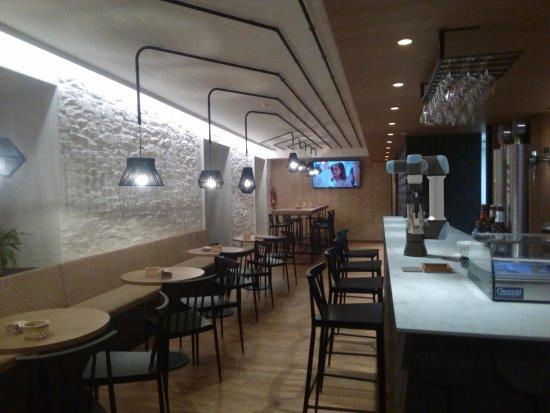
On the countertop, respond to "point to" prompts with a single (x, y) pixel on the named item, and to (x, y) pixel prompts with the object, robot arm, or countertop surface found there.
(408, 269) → the slate mat
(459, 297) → the countertop surface
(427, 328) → the countertop surface
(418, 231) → the coffee box
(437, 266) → the walnut collar
